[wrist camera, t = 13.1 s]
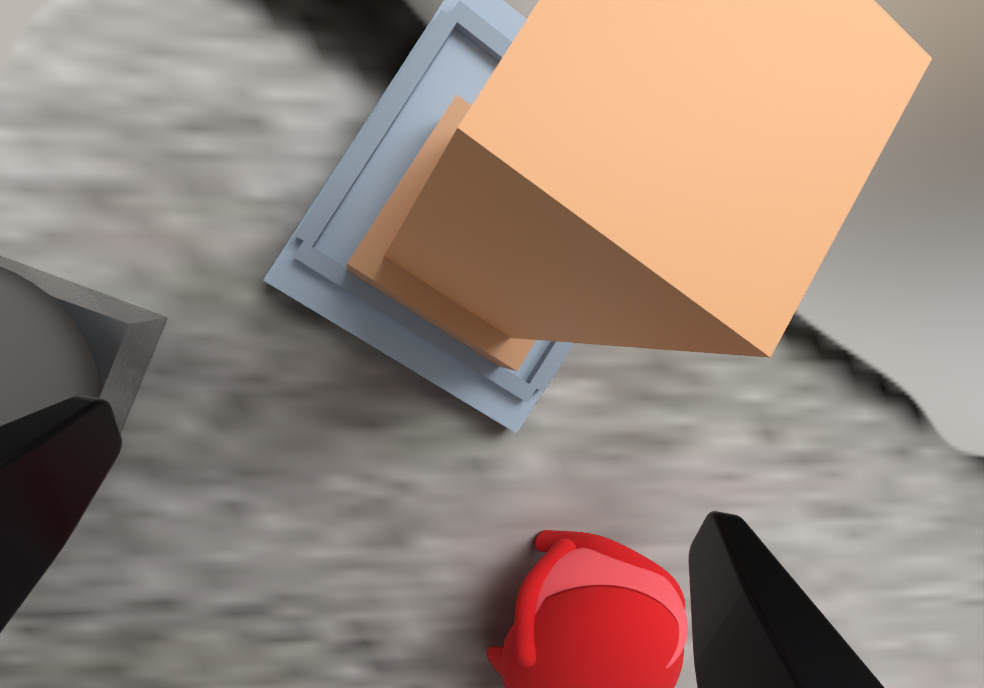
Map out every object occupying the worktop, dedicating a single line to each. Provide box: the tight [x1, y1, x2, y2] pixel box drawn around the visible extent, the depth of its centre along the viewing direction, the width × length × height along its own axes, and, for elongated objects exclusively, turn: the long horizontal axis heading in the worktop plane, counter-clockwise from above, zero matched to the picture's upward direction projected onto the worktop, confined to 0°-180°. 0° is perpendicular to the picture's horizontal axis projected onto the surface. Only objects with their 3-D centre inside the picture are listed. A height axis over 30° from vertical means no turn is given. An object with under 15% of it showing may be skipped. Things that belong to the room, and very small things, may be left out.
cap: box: [487, 530, 687, 688], centre depth 20 cm, size 8×6×6 cm
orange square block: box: [347, 0, 932, 371], centre depth 13 cm, size 6×6×13 cm
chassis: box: [263, 0, 574, 433], centre depth 20 cm, size 12×10×2 cm
